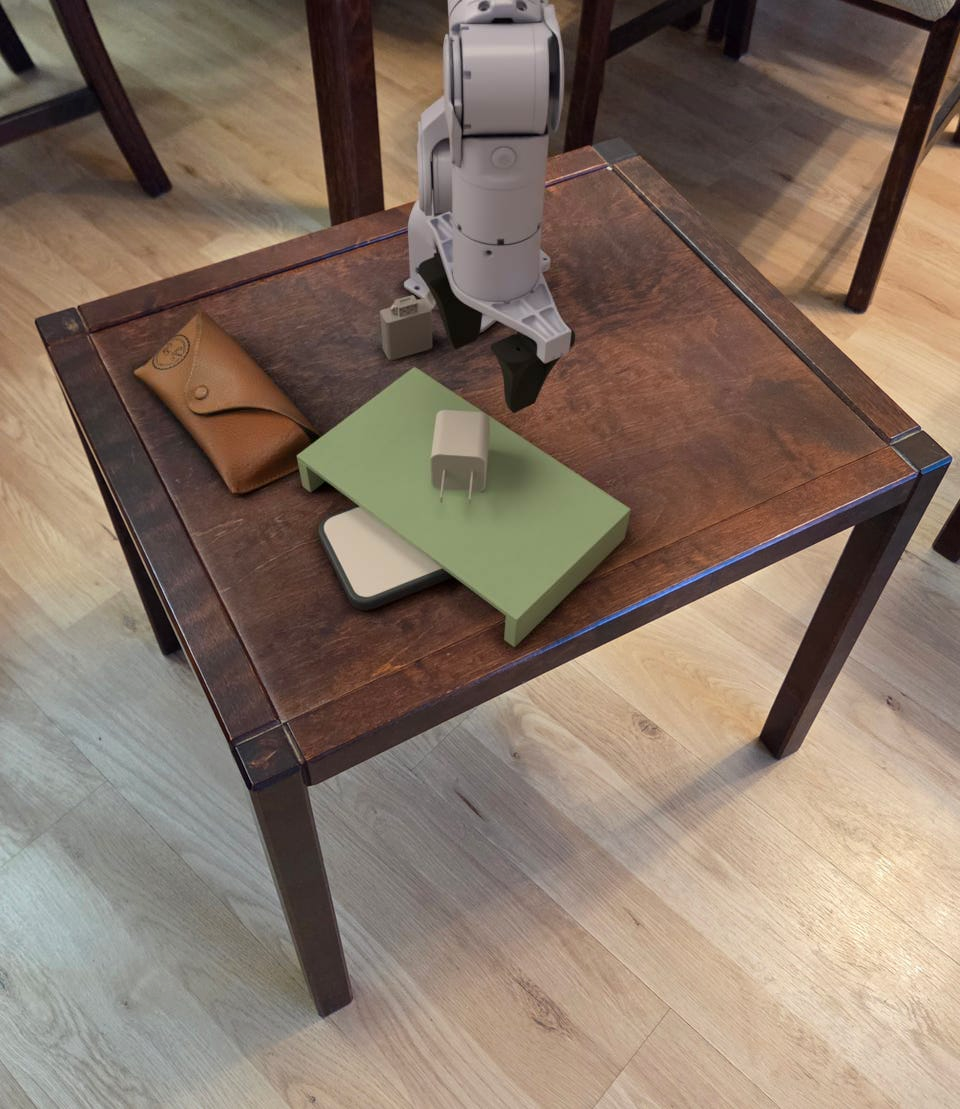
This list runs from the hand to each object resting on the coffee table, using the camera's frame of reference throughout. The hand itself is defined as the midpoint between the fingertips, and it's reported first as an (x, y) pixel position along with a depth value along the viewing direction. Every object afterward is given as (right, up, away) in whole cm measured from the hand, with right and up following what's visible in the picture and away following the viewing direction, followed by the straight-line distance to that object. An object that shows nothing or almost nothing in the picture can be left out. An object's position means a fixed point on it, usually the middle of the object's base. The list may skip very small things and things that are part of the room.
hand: (492, 373), depth 77 cm
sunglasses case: (-22, -2, +10) cm, 24 cm away
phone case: (-4, -12, +3) cm, 13 cm away
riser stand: (-2, -10, +4) cm, 11 cm away
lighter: (-6, +5, +15) cm, 17 cm away
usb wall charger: (-2, -8, +1) cm, 9 cm away
